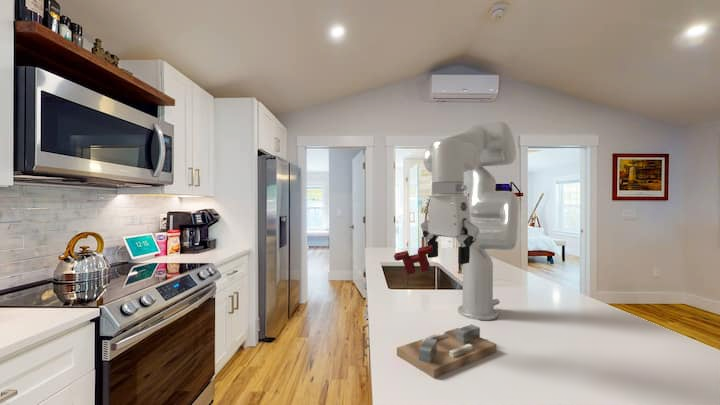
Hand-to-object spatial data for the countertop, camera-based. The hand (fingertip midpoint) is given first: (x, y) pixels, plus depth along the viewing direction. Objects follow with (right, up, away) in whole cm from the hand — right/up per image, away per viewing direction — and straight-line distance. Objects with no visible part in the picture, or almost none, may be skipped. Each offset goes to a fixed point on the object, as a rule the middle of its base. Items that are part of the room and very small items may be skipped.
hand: (447, 260), depth 77 cm
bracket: (-3, +1, +2) cm, 3 cm away
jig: (0, -23, 0) cm, 23 cm away
